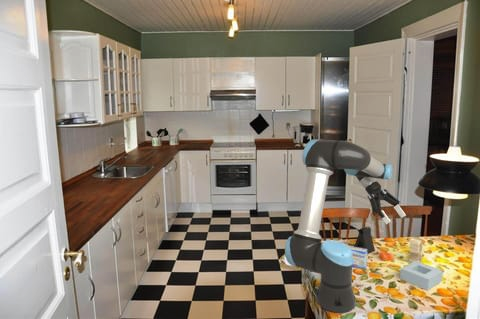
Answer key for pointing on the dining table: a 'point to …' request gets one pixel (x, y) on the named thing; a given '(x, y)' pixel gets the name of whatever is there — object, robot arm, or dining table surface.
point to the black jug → (365, 240)
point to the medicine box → (359, 257)
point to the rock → (385, 256)
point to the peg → (415, 250)
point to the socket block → (421, 275)
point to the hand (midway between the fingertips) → (396, 219)
